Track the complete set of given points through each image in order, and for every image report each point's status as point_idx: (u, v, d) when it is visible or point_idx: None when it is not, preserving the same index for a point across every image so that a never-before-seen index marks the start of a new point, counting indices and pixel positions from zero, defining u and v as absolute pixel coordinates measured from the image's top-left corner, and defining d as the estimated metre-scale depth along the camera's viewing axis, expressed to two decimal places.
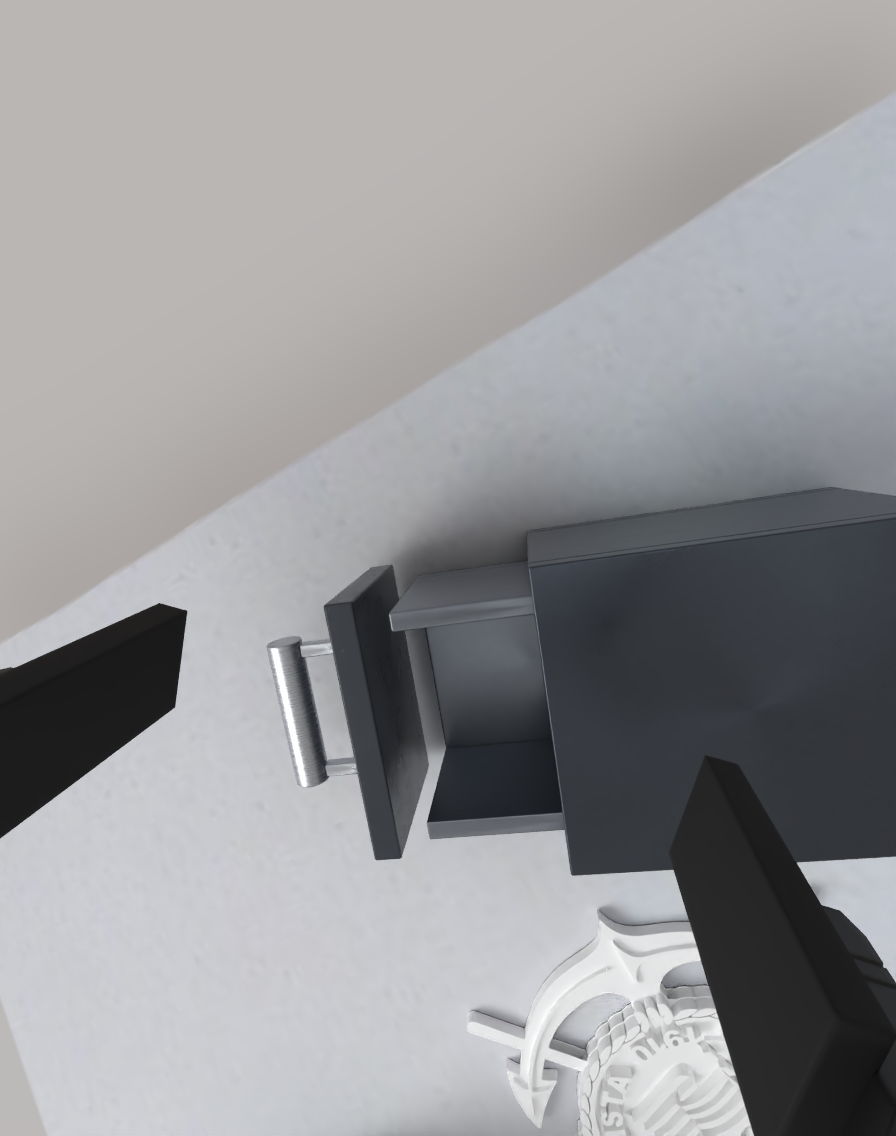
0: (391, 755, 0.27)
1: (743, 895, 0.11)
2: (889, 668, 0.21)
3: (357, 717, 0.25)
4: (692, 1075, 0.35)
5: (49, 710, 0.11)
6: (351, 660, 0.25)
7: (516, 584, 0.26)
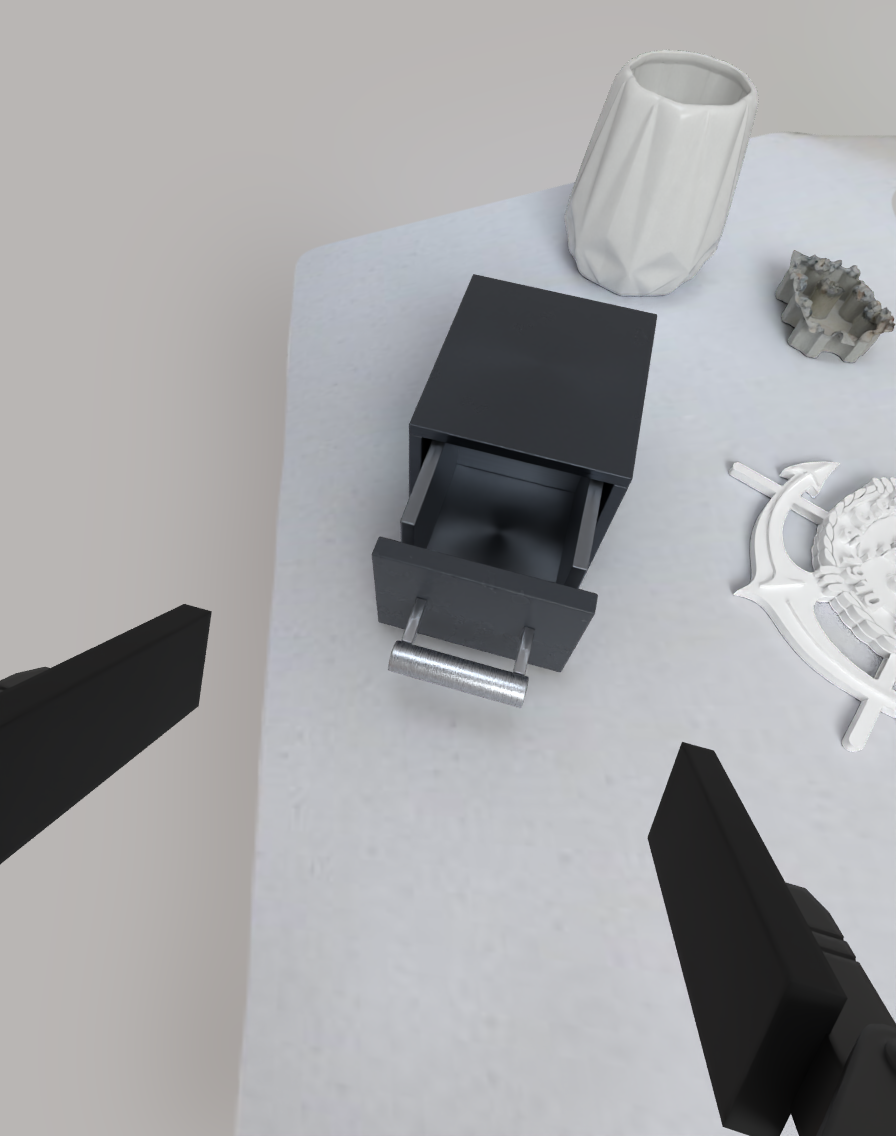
0: None
1: (712, 873, 0.11)
2: (540, 315, 0.40)
3: (466, 570, 0.30)
4: None
5: (86, 708, 0.11)
6: (420, 554, 0.31)
7: None
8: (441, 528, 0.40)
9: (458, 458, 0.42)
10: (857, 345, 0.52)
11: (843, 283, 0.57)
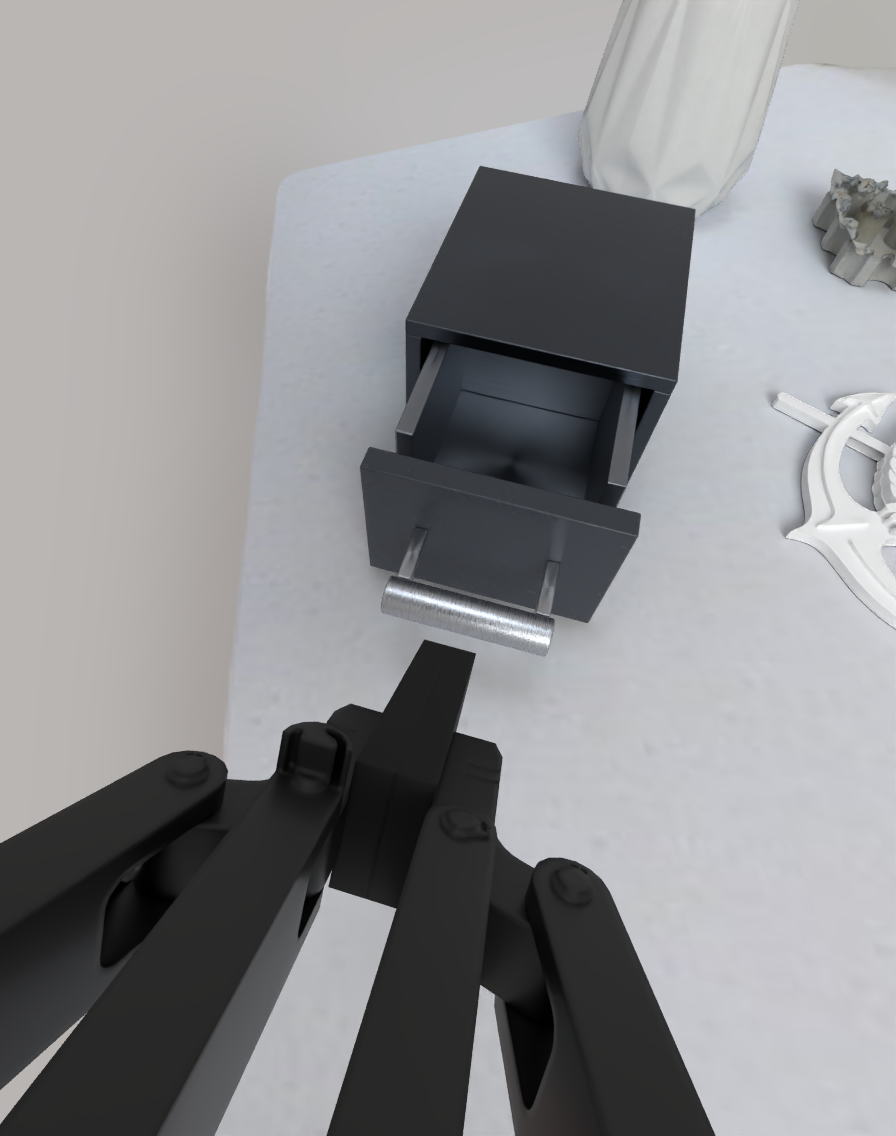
0: None
1: None
2: (559, 208, 0.34)
3: (477, 486, 0.25)
4: None
5: None
6: (420, 467, 0.25)
7: None
8: (444, 459, 0.34)
9: (463, 382, 0.36)
10: None
11: (889, 208, 0.51)
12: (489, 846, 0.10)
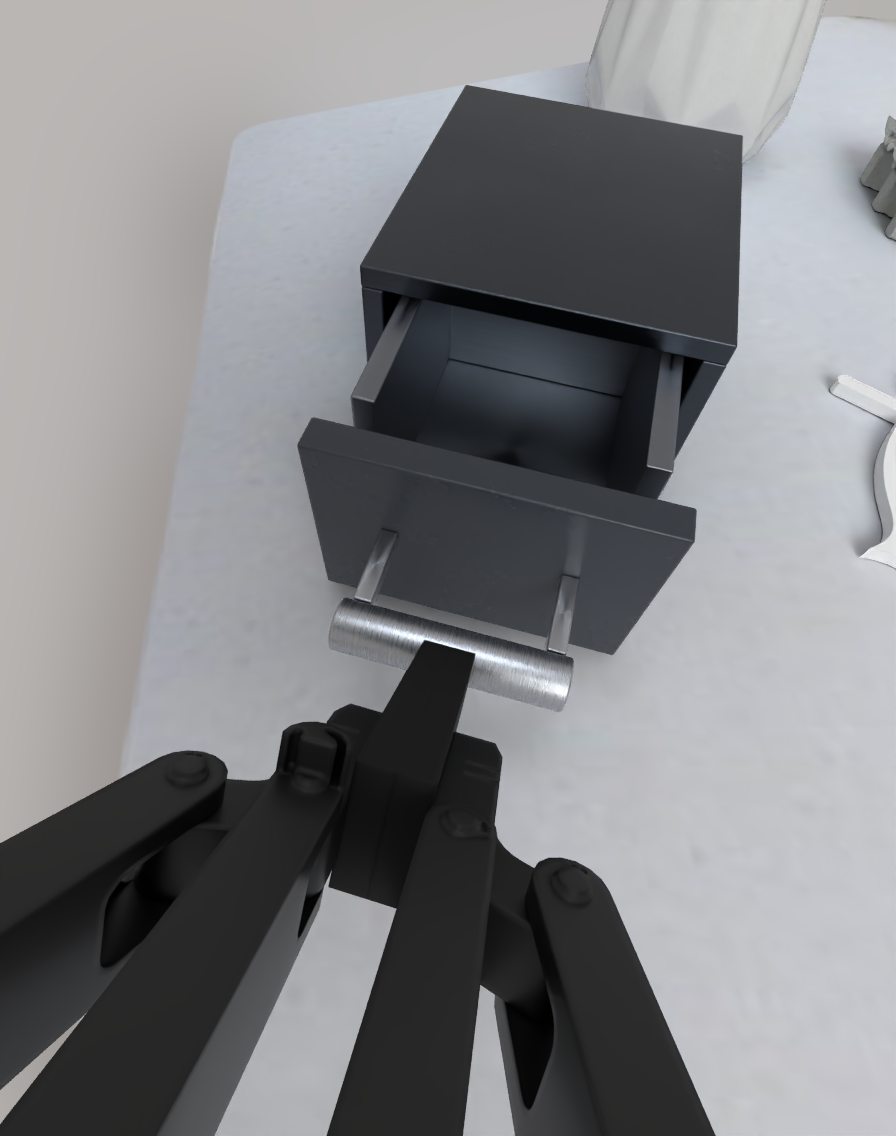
0: None
1: None
2: (568, 132, 0.26)
3: (463, 471, 0.17)
4: None
5: None
6: (383, 445, 0.18)
7: None
8: (426, 443, 0.27)
9: (451, 349, 0.29)
10: None
11: None
12: (489, 846, 0.10)
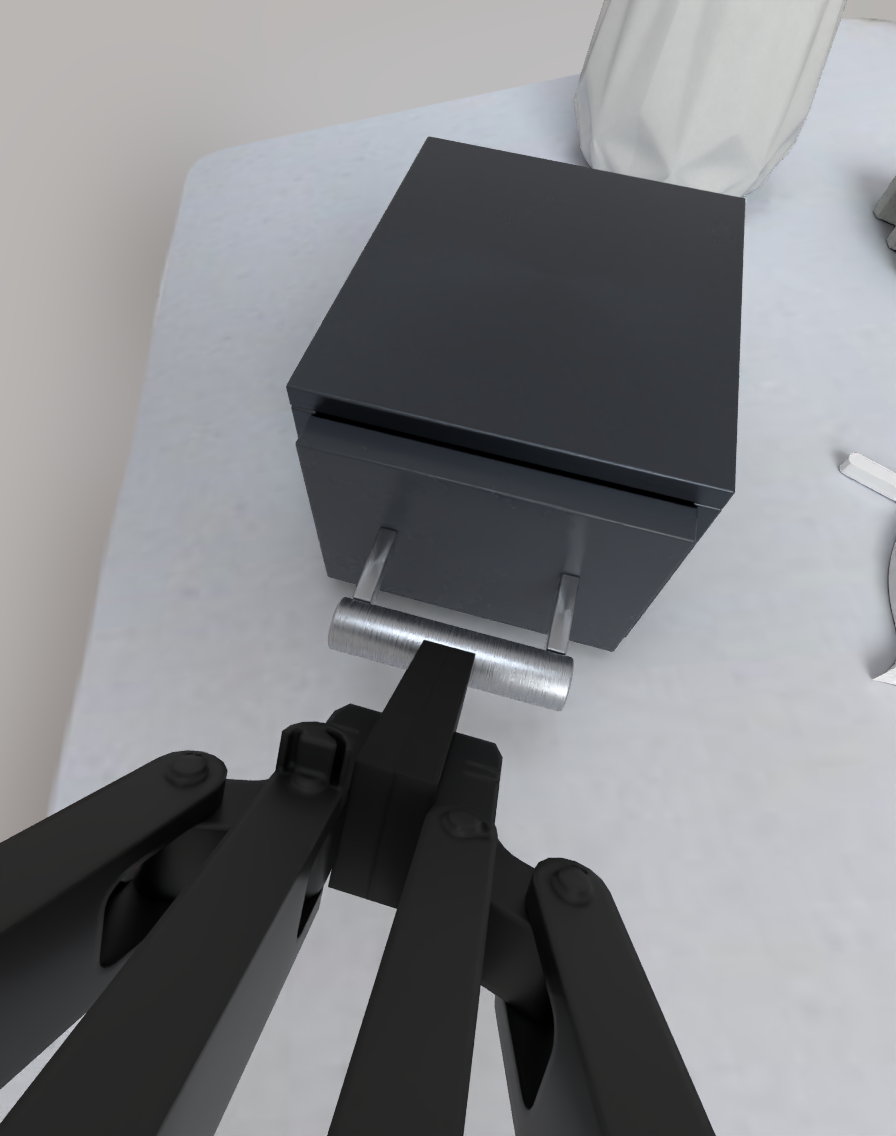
0: None
1: None
2: (543, 198, 0.23)
3: (463, 470, 0.17)
4: None
5: None
6: (382, 443, 0.17)
7: None
8: (425, 438, 0.26)
9: None
10: None
11: None
12: (490, 846, 0.10)
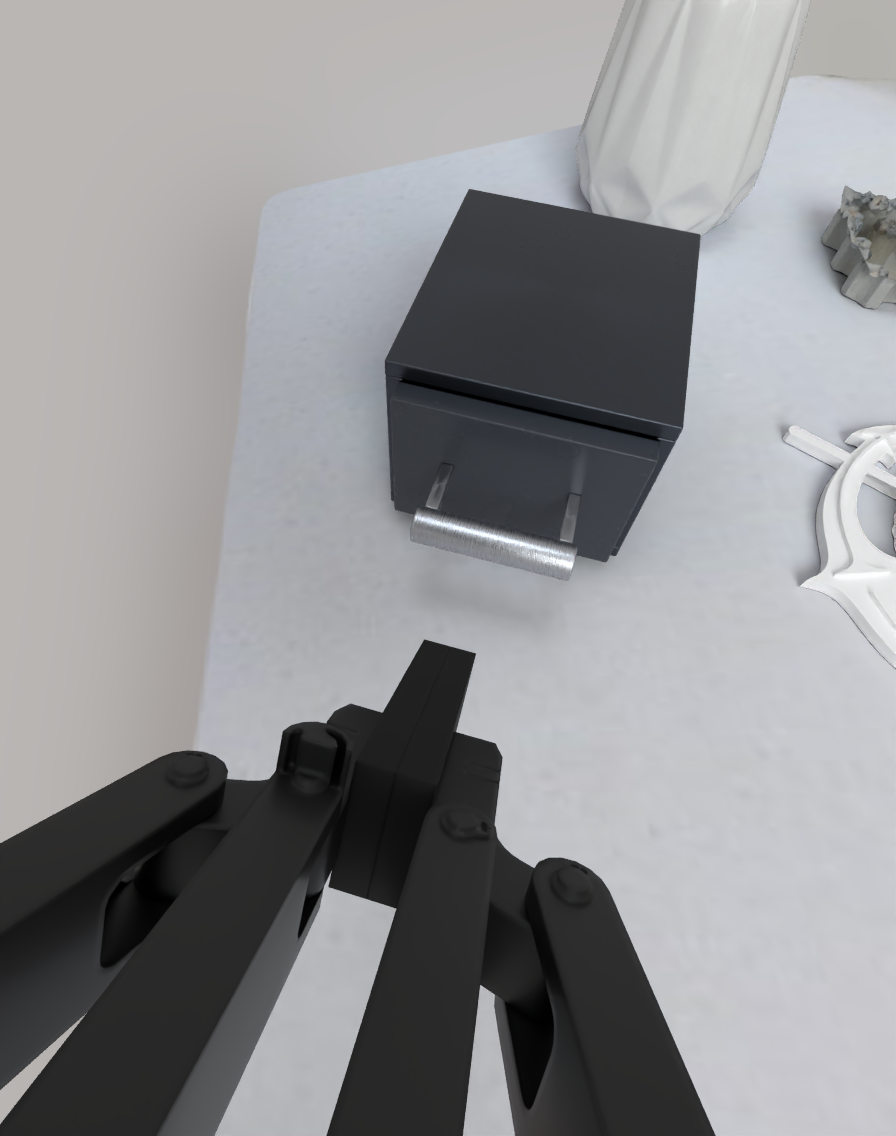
0: None
1: None
2: (554, 234, 0.31)
3: (503, 416, 0.26)
4: None
5: None
6: (448, 399, 0.26)
7: None
8: None
9: None
10: None
11: None
12: (489, 846, 0.10)
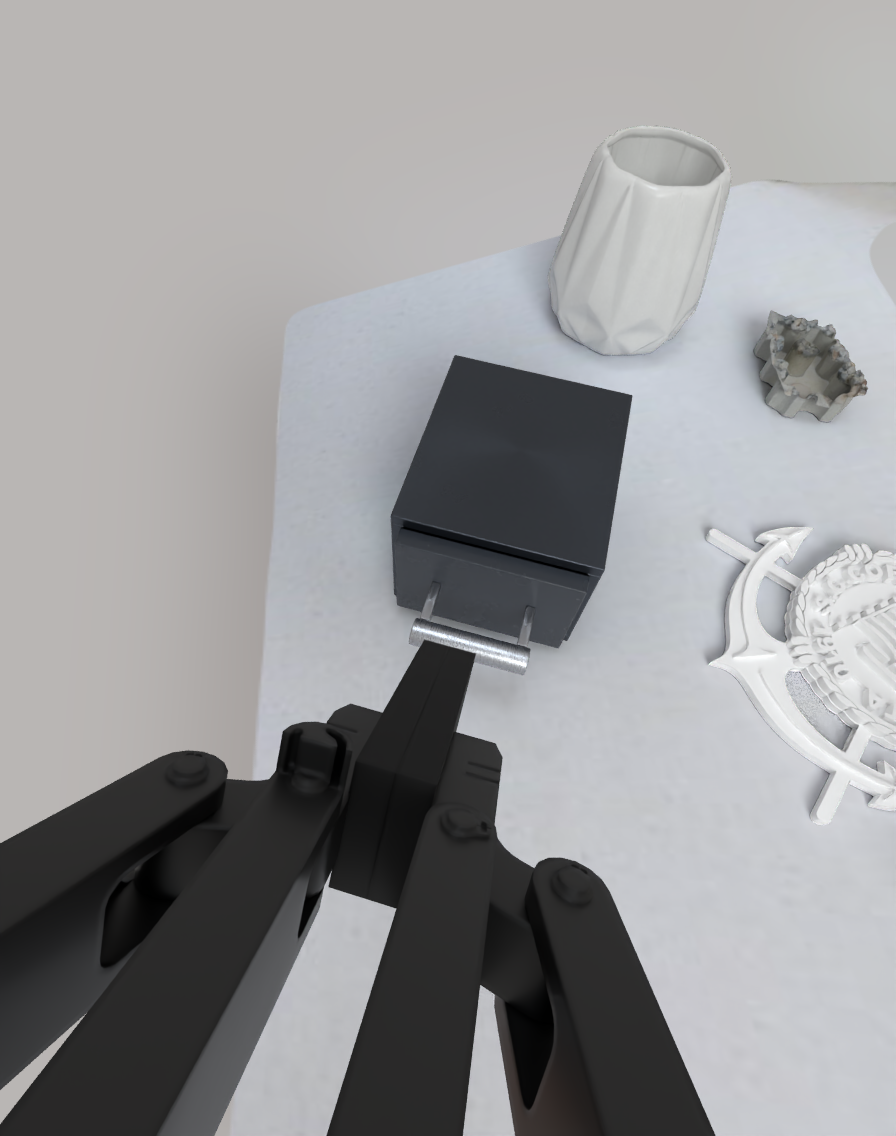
0: None
1: None
2: (519, 398, 0.41)
3: (476, 557, 0.35)
4: (866, 646, 0.42)
5: None
6: (436, 543, 0.36)
7: None
8: None
9: None
10: (832, 407, 0.54)
11: (820, 341, 0.59)
12: (489, 846, 0.10)
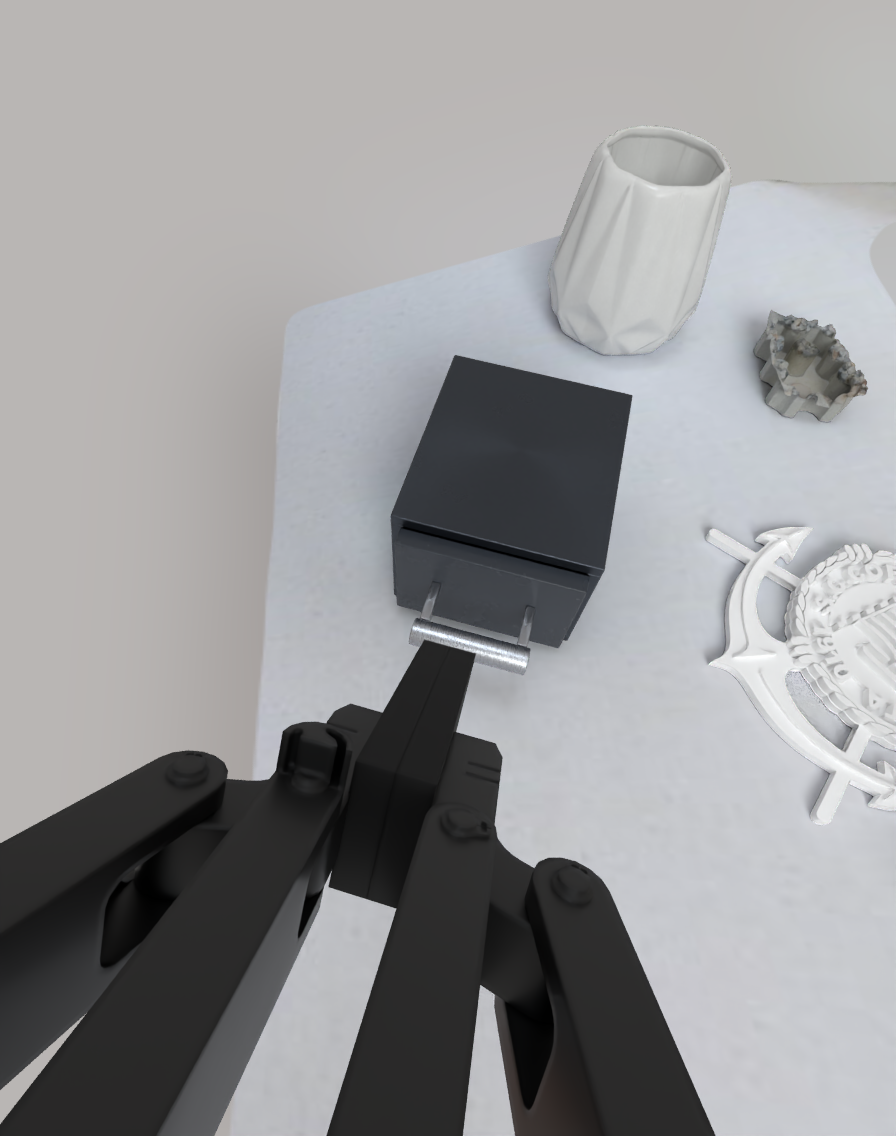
0: None
1: None
2: (519, 398, 0.41)
3: (476, 557, 0.35)
4: (866, 646, 0.42)
5: None
6: (436, 543, 0.36)
7: None
8: None
9: None
10: (832, 406, 0.54)
11: (820, 341, 0.59)
12: (489, 846, 0.10)
